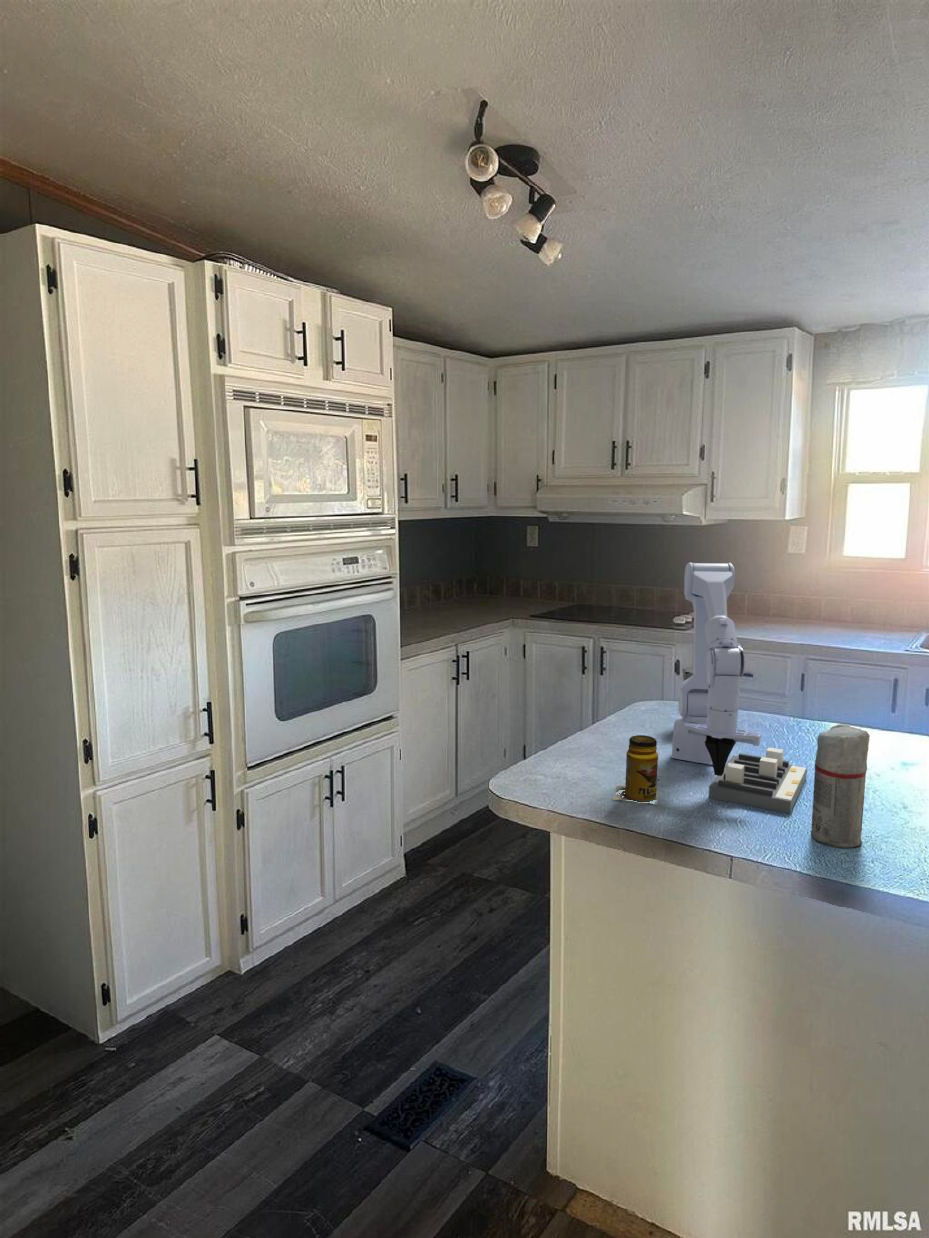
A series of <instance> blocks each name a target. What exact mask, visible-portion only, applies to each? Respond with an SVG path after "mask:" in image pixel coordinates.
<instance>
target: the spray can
mask: <svg viewBox="0 0 929 1238" xmlns="http://www.w3.org/2000/svg"><path fill="white" fill-rule="evenodd" d="M816 742H817V743H816V744H817V748H816V749H817V750H816V754H815V760H814V776H813V778H814V779H813V798H812V813H811V814H812V815H811V831H810V833H811V836H812V837H813V839H814V840H816V841H817V842H819V843H822V844H824V845H826V846H830V847H837V848H845V849H848V848H854V847H855V848H856V847H858V846H861V845H862V843H863V841H862V831H863V817H864V816H863V815H864V803H865V791H866V777H867V771H868V765H867V764H868V755H869V753H868V752H869V745H870V734H869V733H868V731H866V730H864V729H861V728H857V727H855V726H851V725H849V724H841V723H840V724H836V725H833V726H831V727H830V728H829V730H827V731H823V732H820V733H819V734H818V736H817V741H816Z"/></svg>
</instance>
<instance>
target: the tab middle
mask: <svg viewBox="0 0 929 1238" xmlns="http://www.w3.org/2000/svg"><path fill="white" fill-rule="evenodd" d="M761 757H762V758H761V759H760V765H759V775H764V776H770V777H775V778H776V777H777V763H778V759H772V758H766V756H761Z"/></svg>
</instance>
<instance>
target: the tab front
mask: <svg viewBox="0 0 929 1238" xmlns="http://www.w3.org/2000/svg"><path fill="white" fill-rule="evenodd" d="M727 763H728V762H727ZM727 763H726V764H727ZM744 767H745V765H740V764H734V763H728V764H727V766H726V777H725V781H729V782H734V783H739V784H743V783H744Z"/></svg>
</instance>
